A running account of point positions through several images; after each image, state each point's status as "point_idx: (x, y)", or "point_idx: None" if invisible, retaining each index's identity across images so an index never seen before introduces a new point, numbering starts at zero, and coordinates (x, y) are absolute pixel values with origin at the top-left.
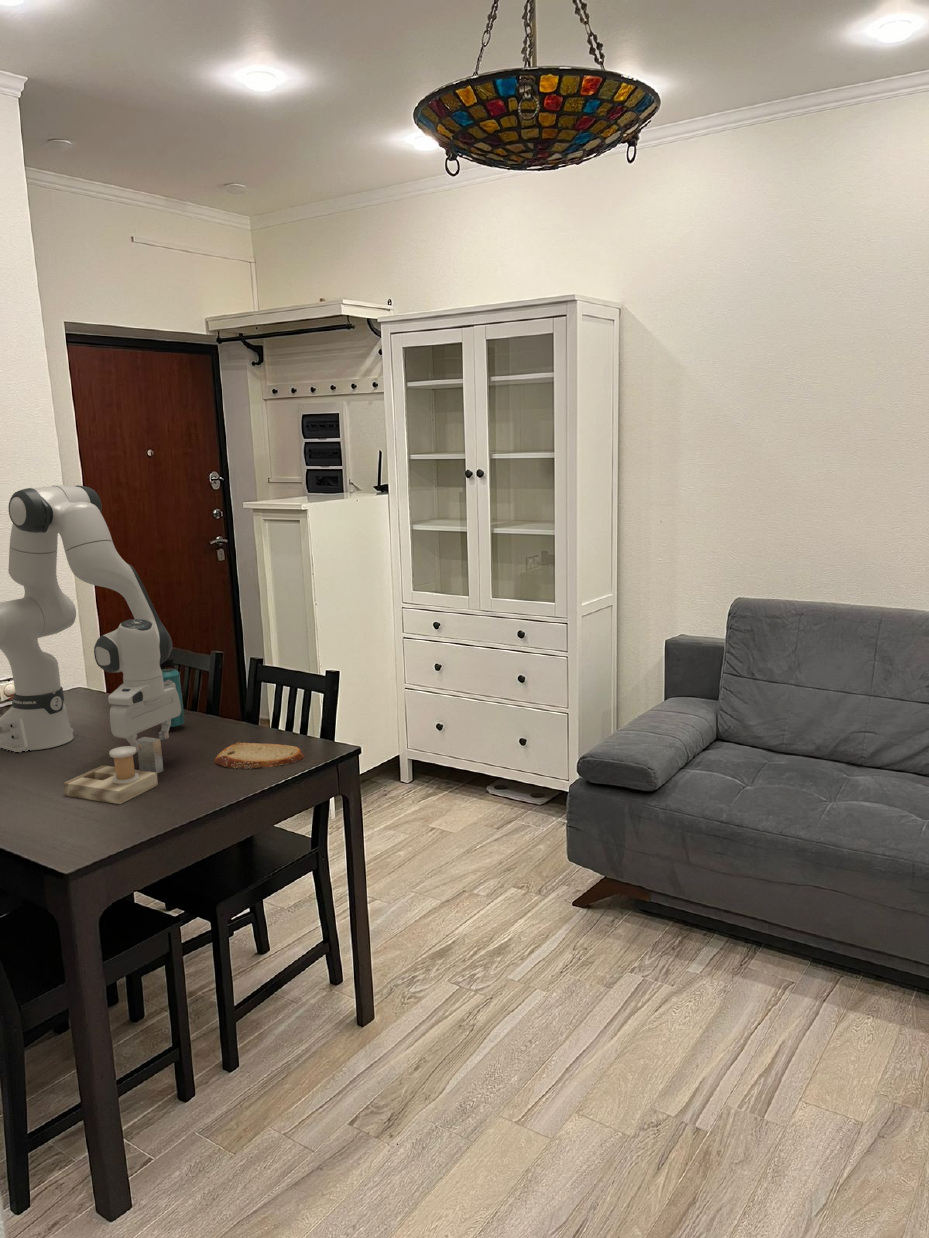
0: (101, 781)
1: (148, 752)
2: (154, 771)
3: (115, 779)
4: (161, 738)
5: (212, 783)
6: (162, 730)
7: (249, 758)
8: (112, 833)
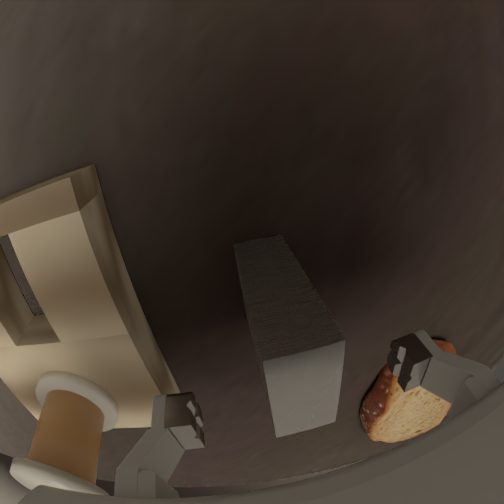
0: (10, 348)
1: (259, 365)
2: (247, 320)
3: (42, 399)
4: (393, 351)
5: (264, 444)
6: (433, 367)
7: (388, 424)
8: (24, 442)
